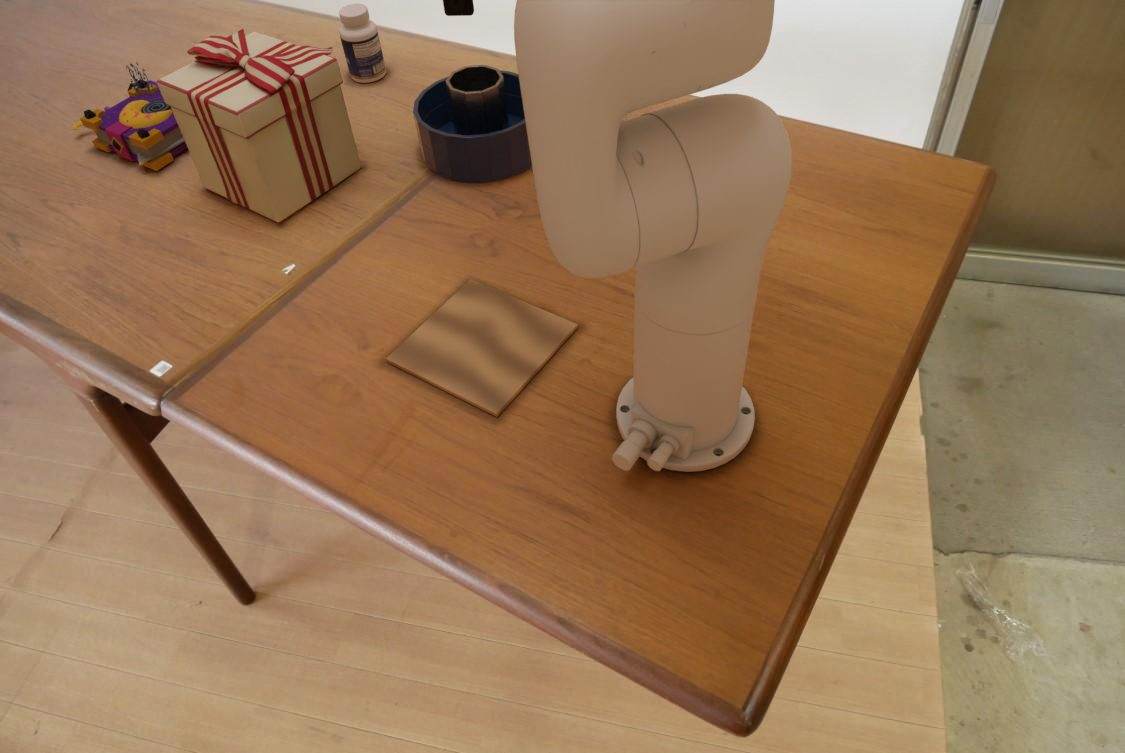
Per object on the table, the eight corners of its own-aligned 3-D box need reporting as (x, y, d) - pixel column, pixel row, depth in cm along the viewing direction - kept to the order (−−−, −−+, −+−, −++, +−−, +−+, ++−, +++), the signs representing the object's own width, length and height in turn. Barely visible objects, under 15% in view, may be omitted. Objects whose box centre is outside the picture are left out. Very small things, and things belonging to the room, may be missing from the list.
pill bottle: (348, 70, 126) (331, 5, 119) (383, 62, 127) (369, -2, 120) (353, 87, 123) (336, 21, 116) (389, 79, 124) (375, 14, 116)
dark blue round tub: (496, 197, 103) (490, 151, 98) (397, 160, 109) (386, 115, 104) (569, 133, 111) (567, 88, 106) (473, 103, 118) (466, 59, 113)
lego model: (147, 94, 125) (110, 12, 116) (269, 135, 115) (238, 50, 106) (64, 143, 117) (17, 59, 107) (187, 192, 107) (147, 104, 98)
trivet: (497, 417, 79) (496, 414, 79) (386, 362, 85) (385, 358, 84) (578, 327, 87) (577, 324, 86) (471, 282, 92) (470, 278, 92)
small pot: (489, 163, 107) (480, 98, 100) (446, 148, 109) (434, 84, 103) (520, 137, 110) (514, 73, 103) (478, 123, 113) (468, 60, 106)
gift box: (384, 151, 111) (353, 23, 98) (287, 230, 100) (238, 98, 88) (289, 121, 117) (248, -3, 104) (189, 192, 107) (130, 64, 94)
